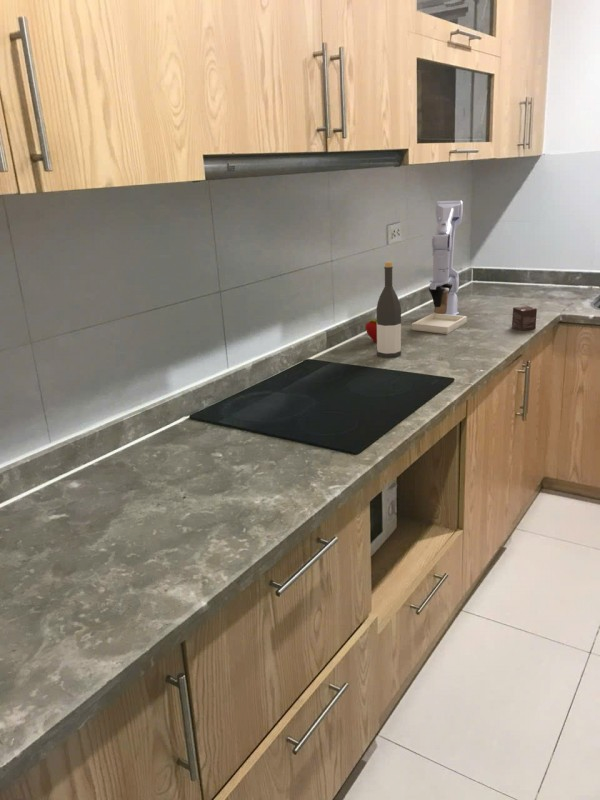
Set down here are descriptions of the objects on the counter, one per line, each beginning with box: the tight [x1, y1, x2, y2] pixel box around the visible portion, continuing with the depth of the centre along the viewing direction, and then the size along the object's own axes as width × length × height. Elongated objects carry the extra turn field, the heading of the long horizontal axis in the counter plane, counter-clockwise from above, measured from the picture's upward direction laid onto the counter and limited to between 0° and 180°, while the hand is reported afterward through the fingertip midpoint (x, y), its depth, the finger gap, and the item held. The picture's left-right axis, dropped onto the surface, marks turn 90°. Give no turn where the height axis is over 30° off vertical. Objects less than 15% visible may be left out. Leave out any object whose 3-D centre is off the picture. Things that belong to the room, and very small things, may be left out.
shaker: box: [433, 287, 449, 314], centre depth 237 cm, size 5×5×9 cm
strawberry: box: [364, 318, 377, 344], centre depth 223 cm, size 6×8×10 cm
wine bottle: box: [376, 261, 402, 359], centre depth 205 cm, size 8×8×30 cm
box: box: [511, 305, 538, 331], centre depth 231 cm, size 6×6×7 cm
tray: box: [411, 312, 468, 335], centre depth 240 cm, size 18×14×2 cm
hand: (440, 305), depth 238 cm, fingers closed on shaker, 4 cm apart
